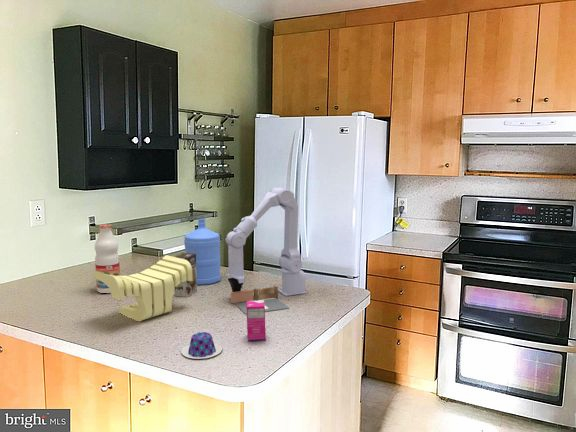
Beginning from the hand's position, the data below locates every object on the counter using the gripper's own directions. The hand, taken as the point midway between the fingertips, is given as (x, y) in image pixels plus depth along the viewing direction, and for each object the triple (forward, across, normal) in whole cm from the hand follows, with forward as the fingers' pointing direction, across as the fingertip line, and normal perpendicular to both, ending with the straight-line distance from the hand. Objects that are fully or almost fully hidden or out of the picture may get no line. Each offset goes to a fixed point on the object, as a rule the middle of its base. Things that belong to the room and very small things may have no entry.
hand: (236, 296), depth 186 cm
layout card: (+2, +6, +7) cm, 10 cm away
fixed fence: (+2, +3, +11) cm, 12 cm away
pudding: (+3, +40, -23) cm, 46 cm away
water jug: (+2, -34, -5) cm, 35 cm away
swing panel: (+1, +3, +1) cm, 3 cm away
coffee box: (+2, -18, -16) cm, 24 cm away
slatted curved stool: (+2, 0, -34) cm, 34 cm away
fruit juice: (+2, -34, -45) cm, 57 cm away
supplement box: (+2, +37, -5) cm, 37 cm away
